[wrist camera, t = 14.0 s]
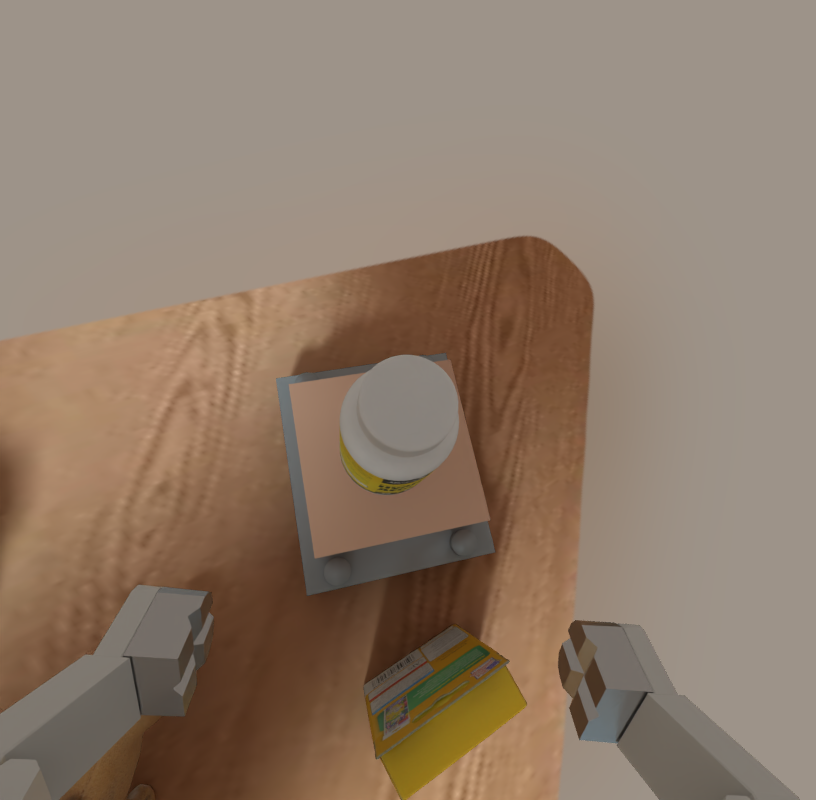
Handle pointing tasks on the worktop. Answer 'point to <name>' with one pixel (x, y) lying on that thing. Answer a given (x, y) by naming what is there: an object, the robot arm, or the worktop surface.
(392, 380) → the supplement bottle
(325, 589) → the brick tower
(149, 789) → the lion figurine
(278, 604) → the worktop surface
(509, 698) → the crayon box
